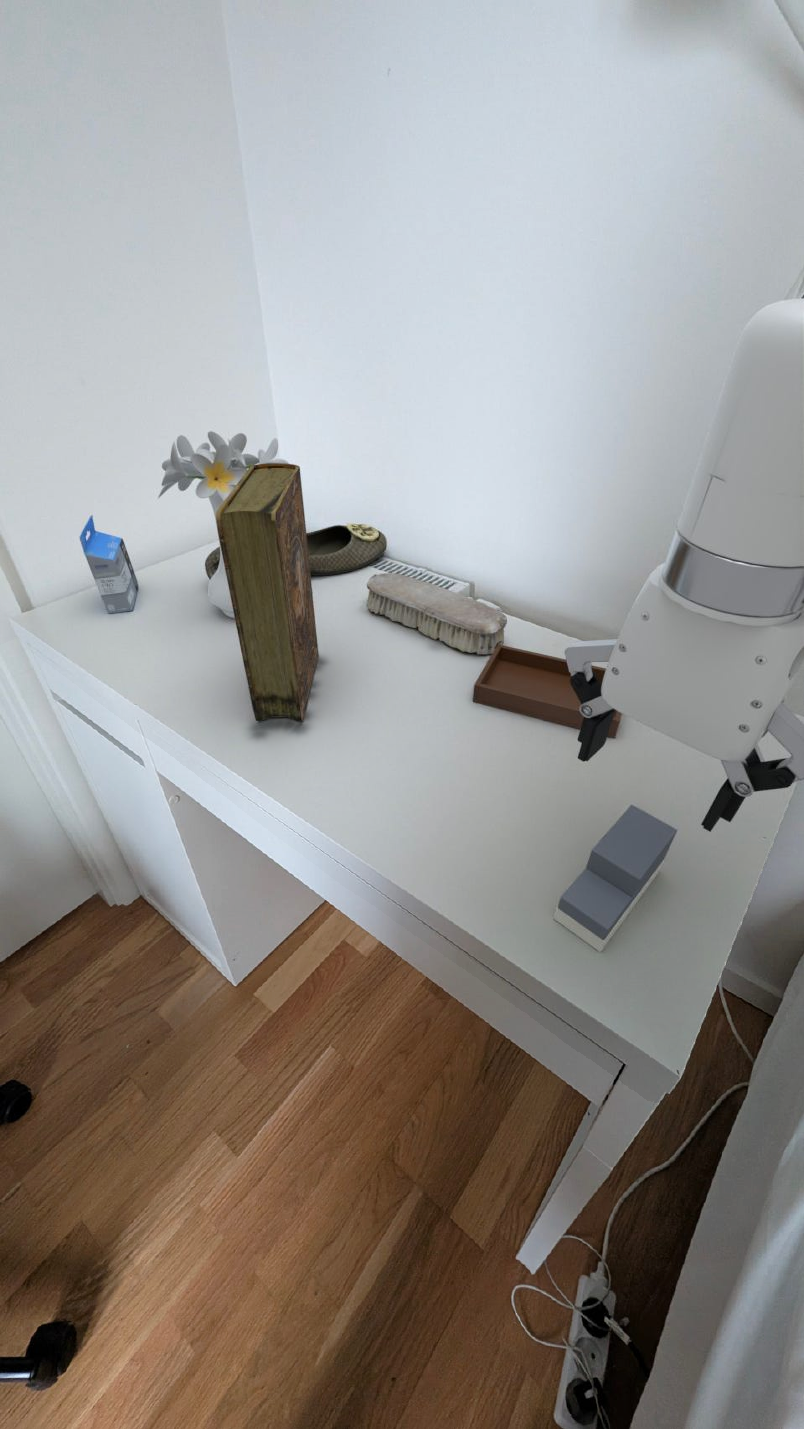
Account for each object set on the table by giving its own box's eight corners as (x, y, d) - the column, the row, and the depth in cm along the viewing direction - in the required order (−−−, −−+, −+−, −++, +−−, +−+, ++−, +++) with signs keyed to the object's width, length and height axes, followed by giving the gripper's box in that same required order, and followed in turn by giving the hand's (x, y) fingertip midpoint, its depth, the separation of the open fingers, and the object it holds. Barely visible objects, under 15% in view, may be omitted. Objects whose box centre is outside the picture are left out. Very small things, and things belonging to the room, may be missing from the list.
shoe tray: (625, 690, 74) (631, 673, 72) (614, 738, 67) (620, 721, 65) (495, 660, 79) (497, 644, 78) (472, 701, 72) (474, 684, 70)
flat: (399, 563, 103) (399, 521, 99) (216, 601, 92) (206, 556, 87) (374, 541, 111) (373, 502, 106) (202, 574, 100) (192, 531, 95)
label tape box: (133, 611, 89) (108, 534, 82) (105, 614, 89) (77, 536, 81) (139, 586, 96) (117, 512, 88) (113, 589, 95) (88, 514, 88)
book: (280, 651, 81) (252, 462, 65) (319, 651, 81) (301, 463, 65) (256, 726, 68) (213, 514, 52) (302, 727, 68) (274, 515, 52)
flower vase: (314, 595, 94) (297, 427, 78) (230, 645, 82) (191, 458, 66) (255, 575, 99) (229, 415, 84) (169, 620, 87) (119, 442, 72)
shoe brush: (354, 610, 90) (353, 580, 87) (385, 592, 95) (385, 564, 91) (485, 664, 78) (489, 632, 75) (513, 642, 83) (518, 611, 80)
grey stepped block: (615, 843, 55) (630, 803, 51) (660, 870, 52) (679, 830, 49) (552, 918, 49) (564, 878, 45) (600, 952, 46) (616, 913, 43)
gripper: (933, 601, 30) (788, 819, 41) (625, 513, 39) (573, 710, 50) (905, 657, 26) (751, 884, 37) (567, 543, 35) (523, 752, 46)
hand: (648, 783), depth 43 cm, fingers open, 9 cm apart
